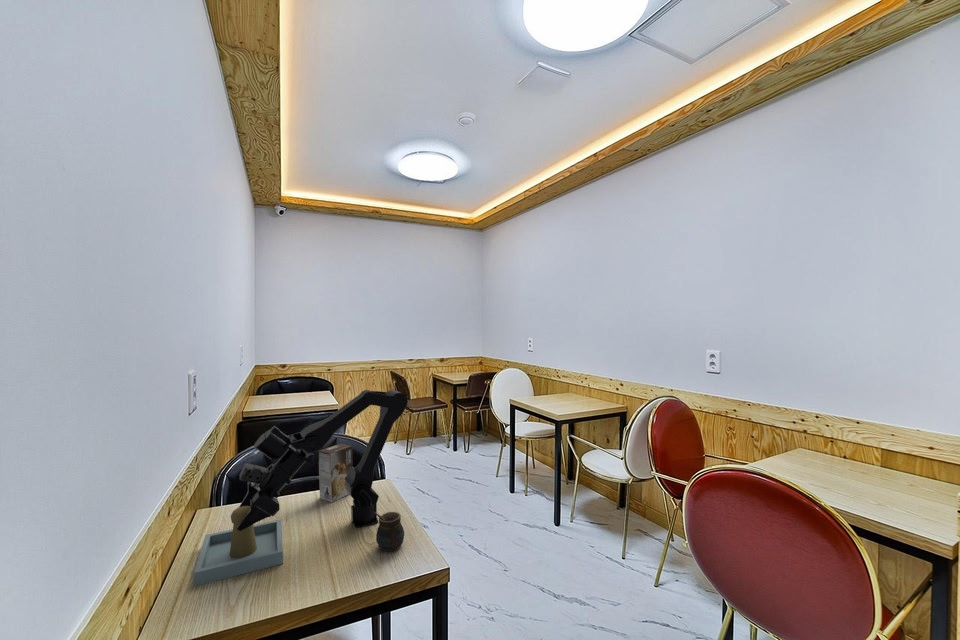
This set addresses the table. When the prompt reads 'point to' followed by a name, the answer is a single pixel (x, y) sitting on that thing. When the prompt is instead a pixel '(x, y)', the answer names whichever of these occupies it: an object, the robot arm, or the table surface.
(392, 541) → the mate gourd
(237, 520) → the cork
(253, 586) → the table surface
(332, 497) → the coffee box
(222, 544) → the slate tray
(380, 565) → the table surface
